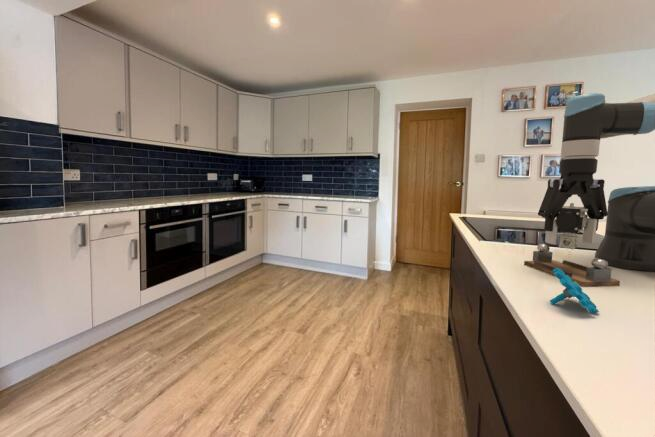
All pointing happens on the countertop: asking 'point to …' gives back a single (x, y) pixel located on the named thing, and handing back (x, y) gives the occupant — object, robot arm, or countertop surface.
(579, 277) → the brown wooden board
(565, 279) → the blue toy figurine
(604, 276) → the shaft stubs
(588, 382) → the countertop surface
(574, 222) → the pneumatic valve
